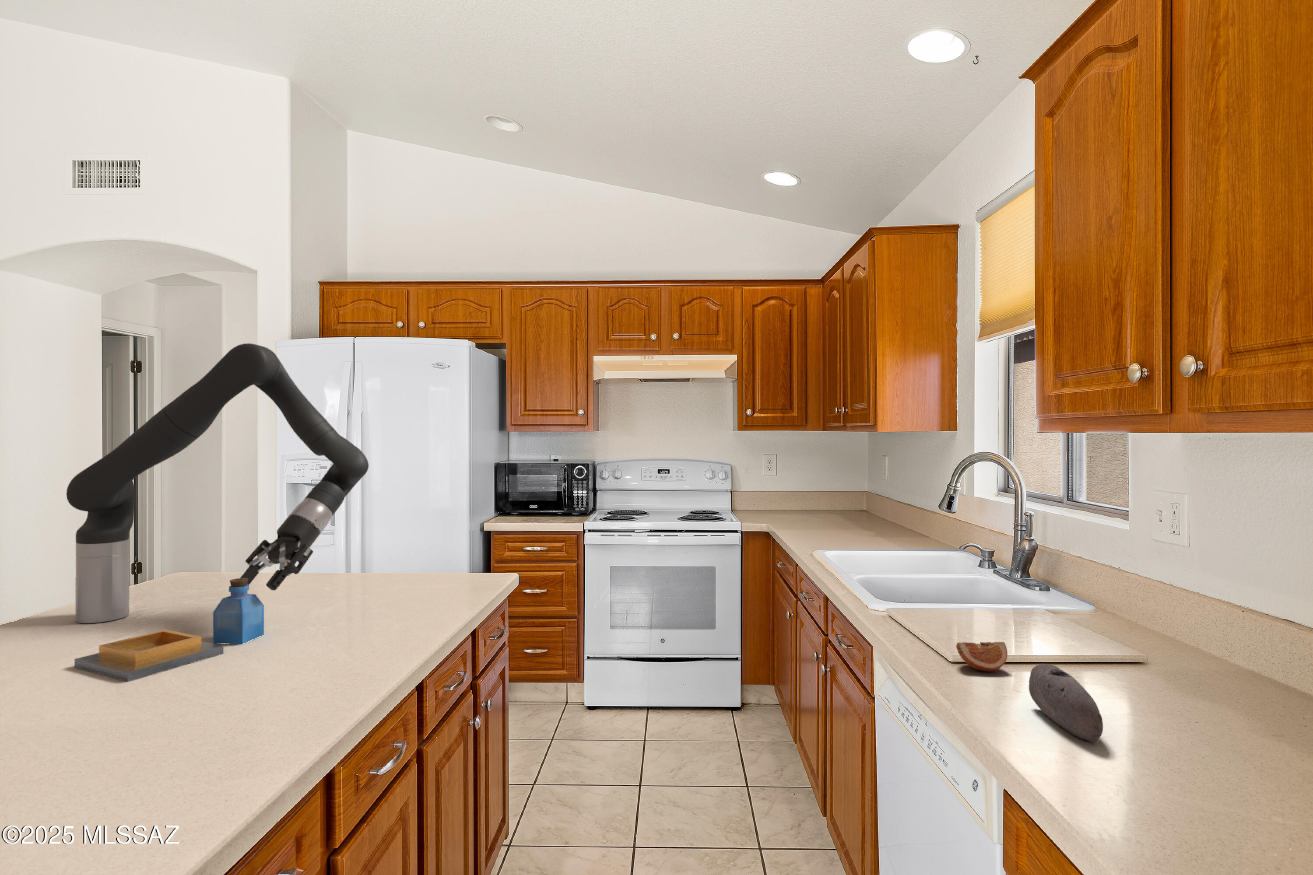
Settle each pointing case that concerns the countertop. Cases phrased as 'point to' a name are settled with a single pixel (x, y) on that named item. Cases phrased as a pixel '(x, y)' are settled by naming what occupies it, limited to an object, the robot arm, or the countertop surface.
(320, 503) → the robot arm
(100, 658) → the wooden tray
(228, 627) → the perfume bottle
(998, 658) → the fruit slice
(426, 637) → the countertop surface
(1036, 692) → the dark grey stone
